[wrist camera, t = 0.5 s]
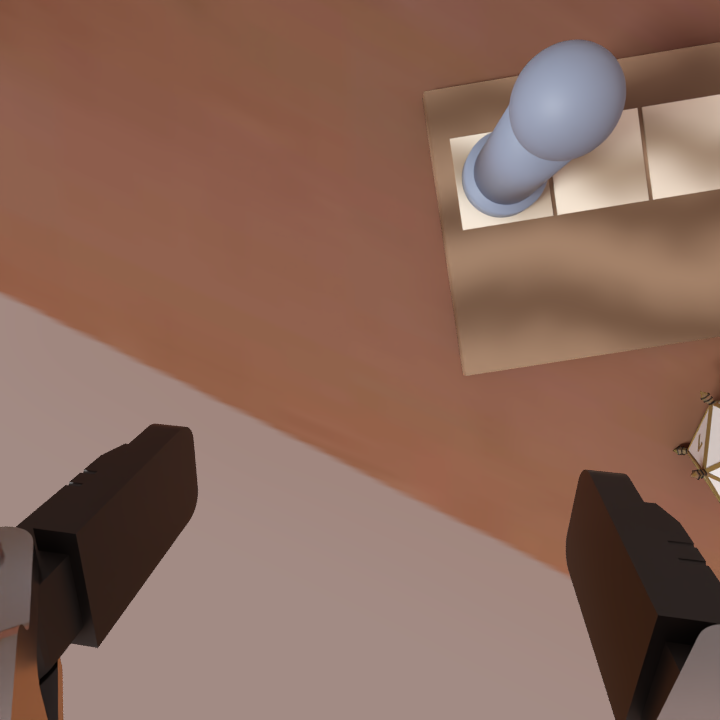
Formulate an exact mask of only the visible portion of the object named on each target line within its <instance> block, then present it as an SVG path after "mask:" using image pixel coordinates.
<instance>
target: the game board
mask: <svg viewBox="0 0 720 720" xmlns="http://www.w3.org/2000/svg"><path fill="white" fill-rule="evenodd" d="M617 61H618V62H619V64H620V66H621V68H622V70H623V73H624V76H625V82H626V100H625V105H624V109H623V112H622V115H621V117H620V119H619V121H618V123H617V125H616V127H615V128H614V130H613V131H612V133H611V134H610V135H609V136H608V138H607V139H606V140H605V141H604V142H603V143H602V144H600V145H599V146H598V147H597V148H595V149H594V150H592V151H591V152H589V153H587V154H585V155H584V156H581V157H578V158H576V159H572V160H571V161H570V162H569V163H567V164H566V165H565V166H564V167H563V168H561V169H560V170H559V171H558V172H557V173H556V174H554V175H553V176H552V177H551V178H550V179H549V180H547V183H546V186H545V188H544V191H543V192H542V194H541V195H540V197H539V198H538V199H537V200H536V201H535V202H534V203H533V204H532V205H531V206H529V207H528V208H527V209H525V210H524V211H522V212H521V213H519V214H517V215H514V216H511V217H504V218H497V217H491V216H488V215H486V214H484V213H482V212H480V211H478V210H477V209H476V208H475V207H474V206H473V205H472V204H471V203H470V202H469V200H468V199H467V197H466V195H465V192H464V190H463V185H462V170H463V166H464V163H465V161H466V159H467V157H468V155H469V153H470V151H471V150H472V148H473V147H474V145H475V144H476V143H477V142H478V141H479V140H480V139H481V138H483V137H484V136H485V135H487V134H489V133H491V132H493V130H494V128H495V127H496V125H497V123H498V122H499V120H500V119H501V117H502V115H503V114H504V112H505V111H506V109H507V107H508V106H509V103H510V97H511V93H512V90H513V87H514V84H515V82H516V80H517V78H518V76H514V77H508V78H502V79H496V80H490V81H484V82H478V83H472V84H466V85H460V86H454V87H448V88H442V89H436V90H430V91H424V94H423V98H422V100H423V107H424V113H425V120H426V127H427V134H428V141H429V147H430V154H431V161H432V168H433V175H434V181H435V188H436V195H437V202H438V208H439V215H440V222H441V229H442V236H443V242H444V249H445V256H446V263H447V270H448V276H449V283H450V290H451V297H452V304H453V310H454V317H455V324H456V331H457V338H458V344H459V351H460V358H461V365H462V372H463V375H465V376H468V375H474V374H481V373H487V372H494V371H500V370H507V369H513V368H520V367H526V366H533V365H539V364H546V363H552V362H559V361H565V360H572V359H578V358H585V357H591V356H598V355H604V354H611V353H617V352H624V351H630V350H637V349H643V348H650V347H656V346H663V345H669V344H676V343H682V342H688V341H695V340H701V339H708V338H714V337H720V42H717V43H712V44H706V45H700V46H694V47H688V48H682V49H676V50H670V51H664V52H658V53H652V54H646V55H640V56H634V57H628V58H622V59H617Z"/></svg>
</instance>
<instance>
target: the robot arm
mask: <svg viewBox="0 0 720 720" xmlns="http://www.w3.org/2000/svg"><path fill="white" fill-rule="evenodd" d="M197 497H198V486H197V474H196V464H195V451H194V441H193V434H192V432H191V430H190V429H189V428H188V427H181V426H171V425H162V424H152V425H150V426H149V427H148V428H146V429H145V430H144V431H143V432H142V433H141V434H139V435H138V436H137V437H136V438H135V439H134V440H133V441H131V442H130V443H129V444H124V445H122V446H120V447H117V448H115V449H113V450H111V451H109V452H107V453H105V454H103V455H101V456H100V457H99V458H97V459H96V460H95V461H94V462H93V463H91V464H90V465H89V466H88V467H87V468H85V469H84V472H83V473H79V474H78V475H77V476H76V477H75V478H74V479H72V480H71V481H70V482H69V485H65V486H64V487H63V488H62V489H61V490H59V491H58V492H57V493H56V494H54V495H53V496H52V497H51V498H50V499H49V500H48V501H46V502H45V503H44V504H43V505H41V506H40V507H39V508H38V509H37V510H36V511H34V512H33V513H32V514H31V515H30V516H28V517H27V518H26V519H25V520H24V521H22V522H21V523H20V524H19V525H18V526H16V527H0V720H64V719H63V718H64V716H63V715H64V714H63V669H62V663H61V659H60V656H61V655H62V654H63V653H64V651H65V650H66V649H67V647H68V646H69V645H70V644H71V643H72V644H78V645H84V646H91V647H96V648H98V647H99V646H100V644H101V643H102V641H103V640H104V639H105V637H106V636H107V634H108V633H109V632H110V630H111V629H112V627H113V626H114V625H115V623H116V622H117V620H118V619H119V618H120V616H121V615H122V614H123V612H124V611H125V609H126V608H127V606H128V605H129V604H130V602H131V601H132V600H133V598H134V597H135V596H136V594H137V593H138V591H139V590H140V589H141V587H142V586H143V584H144V583H145V581H146V580H147V579H148V577H149V576H150V574H151V573H152V572H153V570H154V569H155V567H156V566H157V565H158V563H159V562H160V561H161V559H162V558H163V557H164V555H165V554H166V552H167V551H168V550H169V548H170V547H171V545H172V544H173V543H174V541H175V540H176V538H177V537H178V536H179V534H180V533H181V532H182V530H183V529H184V527H185V526H186V525H187V523H188V522H189V520H190V519H191V517H192V515H193V513H194V510H195V507H196V503H197ZM566 560H567V566H568V570H569V573H570V577H571V580H572V583H573V586H574V589H575V592H576V596H577V599H578V602H579V605H580V608H581V612H582V615H583V618H584V621H585V624H586V627H587V631H588V634H589V637H590V640H591V643H592V647H593V650H594V653H595V656H596V660H597V663H598V666H599V669H600V672H601V675H602V678H603V682H604V685H605V688H606V691H607V695H608V698H609V701H610V704H611V707H612V710H613V714H614V717H615V720H720V582H719V580H718V579H717V577H716V576H715V574H714V573H713V571H712V570H711V568H710V567H709V566H706V561H705V559H704V558H703V557H702V555H701V554H700V552H699V551H698V549H697V548H694V543H693V542H692V540H691V539H690V537H689V536H688V534H687V533H686V531H685V530H684V528H683V527H682V525H681V524H680V522H678V521H677V520H676V519H675V518H673V517H672V516H671V515H670V514H668V513H667V512H666V511H665V510H663V509H662V508H661V507H660V506H658V505H657V504H656V503H647V502H644V501H643V500H642V498H641V496H640V495H639V493H638V491H637V490H636V488H635V487H634V485H633V483H632V482H631V480H630V478H629V477H628V476H627V475H626V474H622V473H612V472H603V471H593V470H583V471H582V473H581V475H580V477H579V481H578V485H577V490H576V494H575V499H574V504H573V509H572V513H571V518H570V523H569V528H568V532H567V538H566Z"/></svg>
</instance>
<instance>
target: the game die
mask: <svg viewBox="0 0 720 720" xmlns="http://www.w3.org/2000/svg"><path fill="white" fill-rule="evenodd" d="M700 393H701V400H703V401H704V402H706V403H708V404H709V406H708V408H707V410H706V413H705V415H704V417H703V419H702V421H701V423H700V425H699V427H698V429H697V431H696V433H695V435H694V437H693V439H692V441H691V443H690V445H689V447H688V449H686V448H684V447H680V446H679V447H678V448H676V449H675V450H673V451H674V452H676V453H677V454H678V455H681V454H682V455H685V454H688V455H689V457H690V458H691V460H692V461H693V463H694V464H695V466H696V467H697V469H698V470H693V471H692V474H691V477H694V478H696V479H698V480H699V479H700V478H701V479H702V478H704V479H705V481H706V482H707V484H708V485H709V487H710V488H711V490H712V491H713V493H714V495H715V496H716V498H717V499H718V501H719V502H720V400H718V401H713V399H712V398H713V397H712V396H710V394H709V393H705V392H702V391H700Z"/></svg>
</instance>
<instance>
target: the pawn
mask: <svg viewBox="0 0 720 720" xmlns="http://www.w3.org/2000/svg"><path fill="white" fill-rule="evenodd" d="M625 100H626V82H625V76H624V73H623V70H622V68H621V66H620V64H619V62H618V61H617V59H616V58H615V57H614V56H613V54H612V53H611V52H609V51H608V50H607V49H606V48H604V47H602V46H601V45H599V44H596V43H594V42H591V41H586V40H568V41H563V42H559V43H557V44H554V45H552V46H550V47H548V48H546V49H544V50H543V51H541V52H540V53H538V54H537V55H536V56H535V57H534V58H533V59H531V60H530V61H529V62H528V64H527V65H526V66H525V67H524V69H523V70H522V71H521V73H520V74H519V76H518V78H517V80H516V82H515V84H514V87H513V90H512V93H511V97H510V103H509V106H508V107H507V109H506V111H505V112H504V114H503V115H502V117H501V119H500V120H499V122H498V123H497V125H496V127H495V128H494V130H493V132H491V133H489V134H487V135H485V136H484V137H483V138H481V139H480V140H479V141H478V142H477V143H476V144H475V145H474V147H473V148H472V150H471V151H470V153H469V155H468V157H467V159H466V161H465V163H464V166H463V170H462V185H463V190H464V192H465V195H466V197H467V199H468V200H469V202H470V203H471V204H472V205H473V206H474V207H475V208H476V209H477V210H478V211H480V212H482V213H484V214H486V215H488V216H491V217H497V218H504V217H511V216H514V215H517V214H519V213H521V212H522V211H524V210H525V209H527V208H528V207H529V206H531V205H532V204H533V203H534V202H535V201H536V200H537V199H538V198H539V197H540V195H541V194H542V192H543V191H544V188H545V186H546V183H547V180H549V179H550V178H551V177H552V176H553V175H554V174H556V173H557V172H558V171H559V170H560V169H561V168H563V167H564V166H565V165H566V164H567V163H569V162H570V161H571V160H572V159H576V158H578V157H581V156H584V155H585V154H587V153H589V152H591V151H592V150H594V149H595V148H597V147H598V146H599V145H600V144H602V143H603V142H604V141H605V140H606V139H607V138H608V136H609V135H610V134H611V133H612V131H613V130H614V128H615V127H616V125H617V123H618V121H619V119H620V117H621V115H622V112H623V109H624V105H625Z"/></svg>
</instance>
